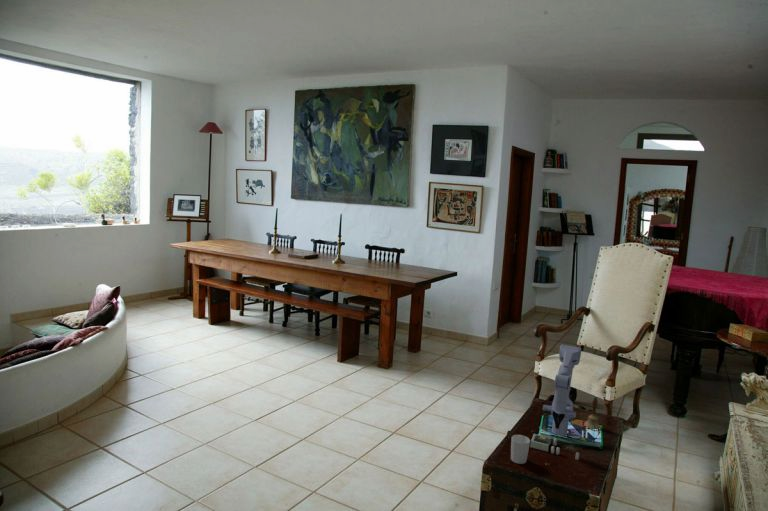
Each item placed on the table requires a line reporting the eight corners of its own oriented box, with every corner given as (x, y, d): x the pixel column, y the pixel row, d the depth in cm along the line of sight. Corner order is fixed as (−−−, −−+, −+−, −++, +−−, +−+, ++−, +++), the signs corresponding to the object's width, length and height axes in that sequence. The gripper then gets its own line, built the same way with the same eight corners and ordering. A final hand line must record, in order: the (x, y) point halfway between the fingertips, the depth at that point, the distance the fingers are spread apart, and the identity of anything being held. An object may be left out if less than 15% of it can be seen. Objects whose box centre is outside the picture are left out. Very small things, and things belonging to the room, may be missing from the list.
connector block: (538, 443, 249) (539, 434, 249) (547, 445, 248) (548, 436, 247) (536, 446, 246) (537, 438, 245) (545, 449, 244) (546, 440, 243)
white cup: (528, 466, 228) (530, 444, 227) (509, 463, 230) (511, 441, 228) (527, 457, 236) (529, 436, 234) (509, 454, 237) (511, 433, 236)
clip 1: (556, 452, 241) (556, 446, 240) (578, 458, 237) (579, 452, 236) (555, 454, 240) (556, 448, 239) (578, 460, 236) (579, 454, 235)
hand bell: (600, 432, 265) (604, 402, 262) (583, 428, 268) (587, 398, 265) (600, 425, 272) (604, 396, 270) (583, 421, 275) (587, 392, 273)
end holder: (533, 439, 252) (533, 433, 252) (550, 443, 249) (551, 437, 249) (530, 447, 245) (530, 441, 244) (547, 451, 241) (548, 445, 241)
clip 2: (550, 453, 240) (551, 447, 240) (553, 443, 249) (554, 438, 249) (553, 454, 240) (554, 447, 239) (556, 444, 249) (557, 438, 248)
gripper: (542, 399, 240) (539, 427, 243) (576, 407, 234) (572, 435, 236) (545, 394, 247) (542, 421, 249) (577, 401, 241) (574, 429, 243)
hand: (557, 427), depth 243 cm, fingers closed
